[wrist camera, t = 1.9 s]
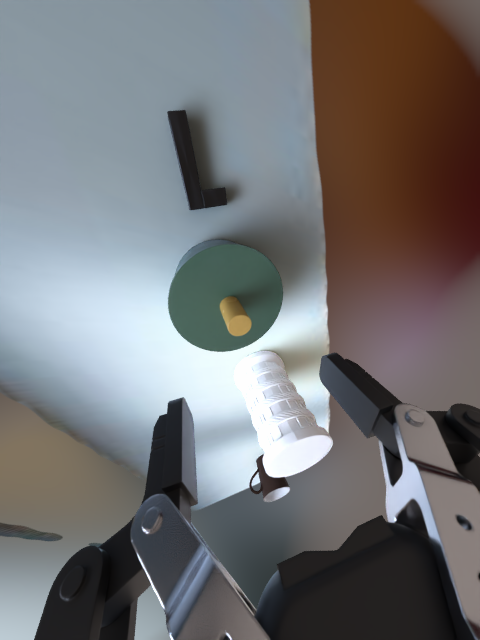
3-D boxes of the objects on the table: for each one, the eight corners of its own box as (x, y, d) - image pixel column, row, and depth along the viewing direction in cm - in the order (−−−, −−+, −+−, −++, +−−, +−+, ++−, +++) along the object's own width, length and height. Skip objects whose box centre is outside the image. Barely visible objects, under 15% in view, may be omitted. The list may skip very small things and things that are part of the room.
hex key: (168, 118, 20) (167, 110, 18) (211, 115, 21) (214, 107, 19) (189, 210, 24) (190, 210, 23) (224, 204, 25) (227, 204, 24)
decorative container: (240, 395, 45) (269, 486, 30) (227, 362, 39) (256, 457, 24) (284, 377, 47) (333, 458, 32) (279, 343, 40) (337, 422, 25)
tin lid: (149, 255, 20) (137, 271, 15) (278, 232, 22) (307, 238, 17) (187, 358, 27) (188, 391, 22) (280, 332, 30) (300, 358, 25)
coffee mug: (281, 452, 67) (295, 487, 58) (264, 466, 69) (276, 501, 60) (259, 448, 61) (271, 486, 53) (241, 463, 63) (251, 501, 54)
